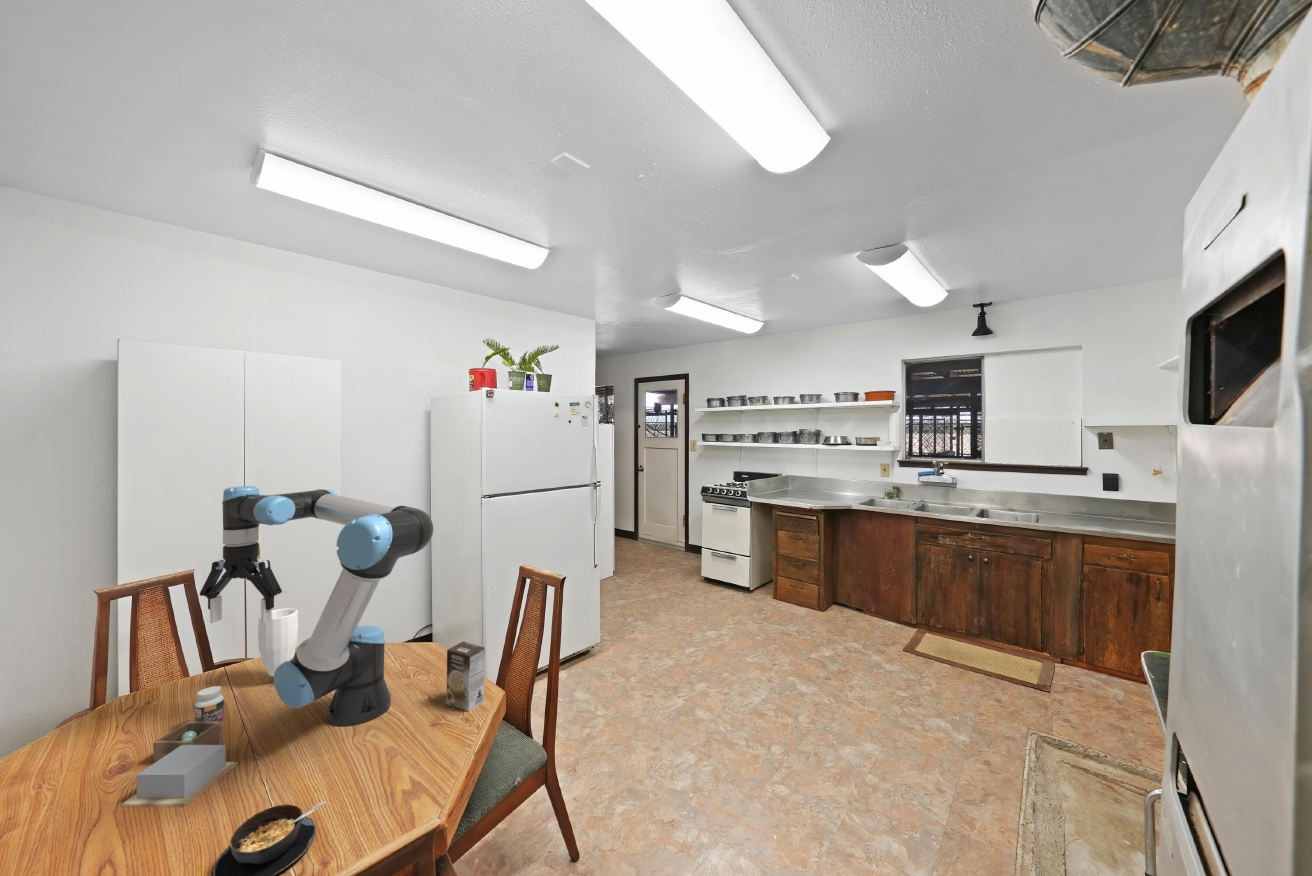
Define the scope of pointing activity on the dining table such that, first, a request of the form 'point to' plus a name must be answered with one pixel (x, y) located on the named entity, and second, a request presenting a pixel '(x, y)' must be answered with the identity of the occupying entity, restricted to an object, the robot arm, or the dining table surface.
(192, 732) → the marble
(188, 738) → the marble
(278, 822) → the soup bowl
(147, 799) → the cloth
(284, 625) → the cup
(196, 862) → the dining table surface
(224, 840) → the dining table surface
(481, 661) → the coffee box
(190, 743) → the walnut dish
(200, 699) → the pill bottle
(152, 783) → the grey cover
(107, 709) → the dining table surface
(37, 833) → the dining table surface
